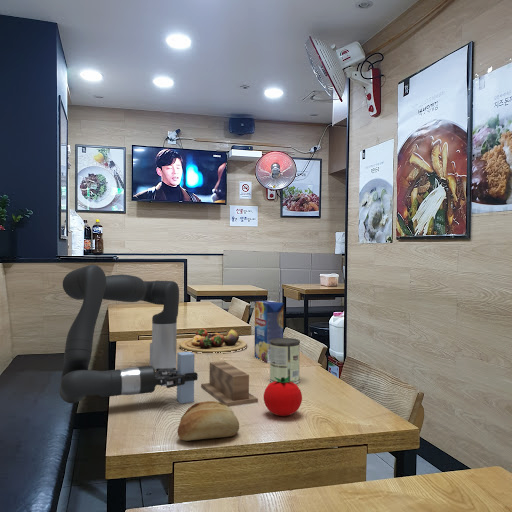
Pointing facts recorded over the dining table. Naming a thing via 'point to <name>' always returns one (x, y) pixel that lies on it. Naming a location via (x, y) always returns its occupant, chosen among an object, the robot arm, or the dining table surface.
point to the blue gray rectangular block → (184, 366)
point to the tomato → (282, 397)
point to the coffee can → (284, 359)
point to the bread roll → (208, 421)
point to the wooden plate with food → (213, 342)
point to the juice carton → (267, 327)
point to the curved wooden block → (228, 384)
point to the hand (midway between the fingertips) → (194, 374)
